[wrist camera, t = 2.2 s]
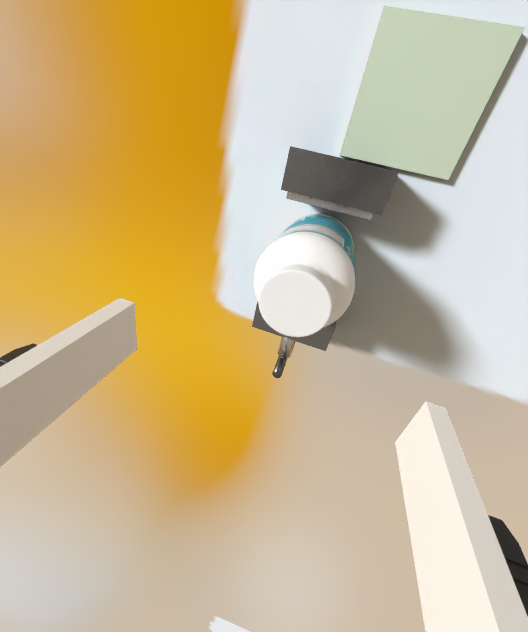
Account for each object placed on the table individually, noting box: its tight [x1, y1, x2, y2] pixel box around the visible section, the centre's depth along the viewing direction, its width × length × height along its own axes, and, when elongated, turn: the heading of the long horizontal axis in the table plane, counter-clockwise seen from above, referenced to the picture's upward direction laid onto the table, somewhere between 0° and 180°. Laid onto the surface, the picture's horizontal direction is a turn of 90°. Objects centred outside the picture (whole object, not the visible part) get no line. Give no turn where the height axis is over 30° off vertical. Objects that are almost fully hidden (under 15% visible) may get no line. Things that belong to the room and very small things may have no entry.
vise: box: [252, 146, 398, 378], centre depth 28 cm, size 21×8×7 cm, turn 167°
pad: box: [340, 6, 525, 180], centre depth 21 cm, size 9×9×1 cm
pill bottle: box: [254, 214, 355, 337], centre depth 23 cm, size 8×7×14 cm
